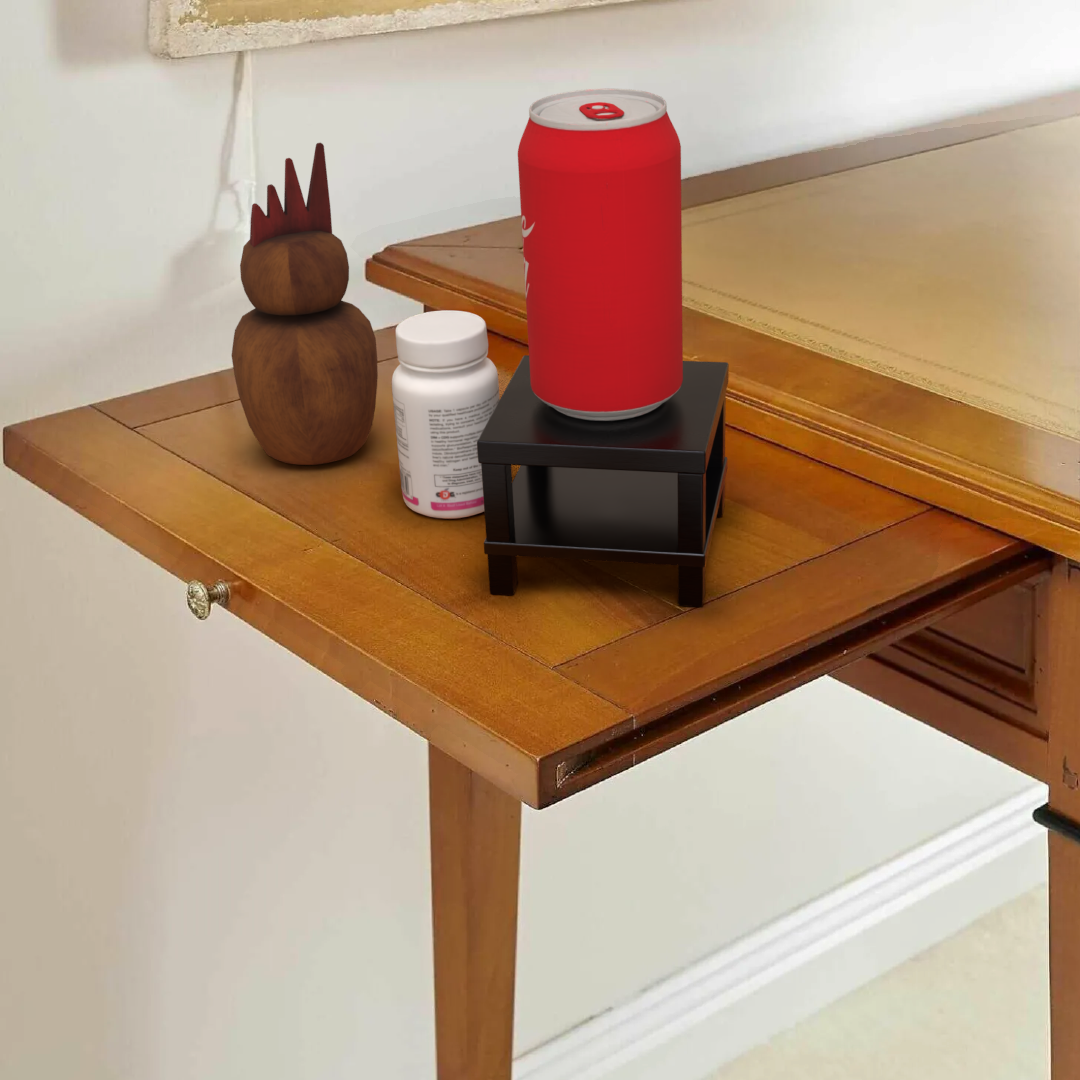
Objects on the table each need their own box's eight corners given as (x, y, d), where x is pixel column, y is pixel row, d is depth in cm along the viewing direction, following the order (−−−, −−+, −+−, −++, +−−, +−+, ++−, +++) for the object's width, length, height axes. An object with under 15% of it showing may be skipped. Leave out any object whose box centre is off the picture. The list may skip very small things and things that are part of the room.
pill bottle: (524, 484, 76) (515, 314, 72) (473, 529, 72) (460, 352, 68) (436, 467, 78) (422, 300, 74) (383, 510, 74) (365, 336, 70)
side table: (727, 506, 73) (728, 361, 70) (704, 609, 65) (705, 451, 62) (531, 496, 75) (523, 354, 72) (486, 595, 67) (476, 441, 64)
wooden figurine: (386, 423, 83) (358, 128, 76) (384, 473, 78) (353, 162, 71) (252, 432, 83) (211, 137, 75) (241, 482, 78) (196, 171, 70)
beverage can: (655, 360, 70) (651, 78, 64) (704, 416, 65) (705, 114, 59) (514, 380, 69) (498, 95, 63) (552, 439, 64) (538, 133, 58)
